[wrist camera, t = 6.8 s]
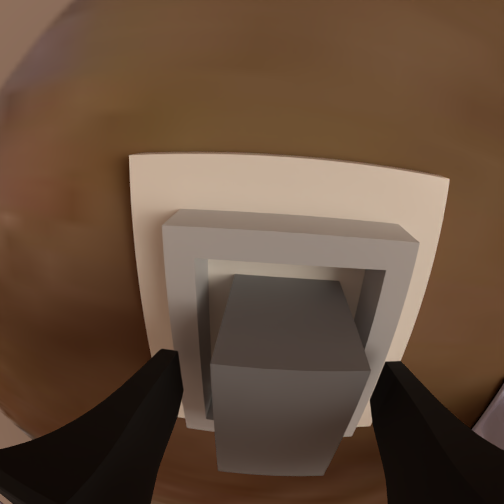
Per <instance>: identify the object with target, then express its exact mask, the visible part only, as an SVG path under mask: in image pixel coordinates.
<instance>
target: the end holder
mask: <svg viewBox="0 0 504 504" xmlns="http://www.w3.org/2000/svg"><path fill="white" fill-rule="evenodd" d="M129 168H130V192H131V209H132V222H133V234H134V245H135V254H136V263H137V272H138V279H139V287H140V294H141V301H142V307H143V314H144V320H145V325H146V331H147V337H148V342H149V347H150V352H151V357H153V356H154V355H155V354H156V353H157V352H158V351H159V350H160V349H168V350H175V351H178V354H179V361H180V368H181V375H182V382H183V388H184V392H183V396H182V401H181V405H180V409H179V413H178V417H181V418H185V420H186V425H187V428H192V429H199V430H206V431H213V432H215V430H214V417H213V402H212V386H211V369H210V363H211V359H212V355H213V352H214V348H215V344H216V341H217V337H218V333H219V330H220V326H221V322H222V319H223V315H224V311H225V308H226V304H227V300H228V297H229V293H230V290H231V286H232V282H233V279H234V275H235V274H244V275H257V276H272V277H286V278H302V279H318V280H334V281H339V282H340V284H341V287H342V289H343V292H344V295H345V297H346V300H347V303H348V305H349V308H350V311H351V314H352V316H353V319H354V322H355V325H356V328H357V330H358V333H359V336H360V339H361V342H362V345H363V348H364V351H365V354H366V357H367V360H368V363H369V366H370V369H371V373H370V375H369V378H368V380H367V383H366V385H365V388H364V390H363V393H362V395H361V398H360V400H359V402H358V405H357V407H356V409H355V412H354V414H353V416H352V418H351V421H350V423H349V425H348V427H347V429H346V431H345V434H344V436H343V437H348V436H352V435H353V433H354V431H355V429H356V427H365V426H370V425H371V423H372V416H371V407H370V397H371V395H372V393H373V390H374V388H375V386H376V383H377V381H378V378H379V376H380V373H381V371H382V368H383V366H384V363H385V362H387V361H401V358H402V356H403V353H404V351H405V348H406V346H407V343H408V340H409V338H410V335H411V332H412V329H413V327H414V324H415V321H416V318H417V315H418V312H419V309H420V306H421V303H422V300H423V296H424V293H425V290H426V286H427V283H428V279H429V276H430V272H431V269H432V265H433V261H434V257H435V253H436V249H437V244H438V240H439V236H440V231H441V226H442V221H443V216H444V211H445V205H446V200H447V193H448V187H449V180H450V179H448V178H445V177H442V176H440V175H436V174H431V173H425V172H420V171H414V170H409V169H403V168H396V167H390V166H383V165H376V164H369V163H362V162H354V161H345V160H336V159H327V158H317V157H305V156H293V155H279V154H261V153H237V152H152V153H137V154H133V155H129Z"/></svg>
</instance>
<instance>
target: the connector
mask: <svg viewBox="0 0 504 504" xmlns="http://www.w3.org/2000/svg"><path fill="white" fill-rule="evenodd" d="M210 369H211V386H212V402H213V417H214V430H215V443H216V454H217V465H218V471H224V472H233V473H243V474H256V475H274V476H323V475H324V473H325V471H326V469H327V467H328V465H329V463H330V462H331V460H332V458H333V456H334V454H335V452H336V450H337V448H338V446H339V444H340V442H341V440H342V438H343V436H344V434H345V431H346V429H347V427H348V425H349V423H350V421H351V418H352V416H353V414H354V412H355V409H356V407H357V405H358V402H359V400H360V398H361V395H362V393H363V390H364V388H365V385H366V383H367V380H368V378H369V375H370V373H371V369H370V366H369V363H368V360H367V357H366V354H365V351H364V348H363V345H362V342H361V339H360V336H359V333H358V330H357V328H356V325H355V322H354V319H353V316H352V314H351V311H350V308H349V305H348V303H347V300H346V297H345V295H344V292H343V289H342V287H341V284H340V282H339V281H334V280H318V279H302V278H286V277H272V276H257V275H244V274H235V275H234V279H233V282H232V286H231V290H230V293H229V297H228V300H227V304H226V308H225V311H224V315H223V319H222V322H221V326H220V330H219V333H218V337H217V341H216V344H215V348H214V352H213V355H212V359H211V363H210Z"/></svg>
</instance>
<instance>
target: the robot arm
mask: <svg viewBox="0 0 504 504" xmlns="http://www.w3.org/2000/svg"><path fill="white" fill-rule="evenodd" d="M183 392H184V388H183V382H182V375H181V368H180V361H179V354H178V351H175V350H168V349H160V350H159V351H158V352H157V353H156V354H155V355H154V356H153V357H152V358H151V359H150V360H149V361H148V362H147V363H146V364H145V365H144V366H143V367H142V368H141V369H139V370H138V371H137V372H136V373H135V374H134V375H133V376H132V377H131V378H130V379H129V380H128V381H126V382H125V383H124V384H123V385H122V386H121V387H120V388H119V389H117V390H116V391H115V392H114V393H112V394H111V395H110V396H109V397H108V398H106V399H105V400H104V401H103V402H101V403H100V404H98V405H97V406H96V407H94V408H93V409H91V410H90V411H88V412H87V413H85V414H84V415H82V416H81V417H79V418H78V419H76V420H74V421H72V422H71V423H69V424H67V425H65V426H63V427H61V428H59V429H57V430H55V431H53V432H51V433H49V434H46V435H44V436H42V437H39V438H37V439H34V440H31V441H28V442H25V443H22V444H19V445H15V446H12V447H8V448H4V449H0V494H2V495H3V496H4V497H5V498H7V499H8V500H9V501H10V502H12V503H13V504H151V499H152V494H153V490H154V485H155V481H156V476H157V472H158V469H159V466H160V463H161V460H162V457H163V454H164V452H165V449H166V446H167V444H168V441H169V438H170V436H171V433H172V430H173V428H174V425H175V422H176V419H177V417H178V413H179V409H180V405H181V401H182V396H183ZM370 407H371V416H372V423H373V427H374V431H375V435H376V439H377V443H378V447H379V451H380V455H381V459H382V464H383V468H384V472H385V478H386V486H387V498H388V504H504V384H503V385H502V387H501V388H500V390H499V392H498V393H497V395H496V396H495V398H494V399H493V401H492V402H491V404H490V405H489V407H488V408H487V409H486V411H485V412H484V414H483V415H482V416H481V418H480V419H479V420H478V422H477V423H476V424H475V426H474V427H473V428H472V430H471V429H470V428H469V427H467V426H466V425H465V424H464V423H462V422H461V421H460V420H459V419H458V418H456V417H455V416H454V415H453V414H452V413H451V412H450V411H449V410H448V409H447V408H446V407H445V406H443V405H442V404H441V403H440V402H439V401H438V400H437V399H436V398H435V397H434V396H433V395H432V394H431V393H430V391H429V390H428V389H427V388H426V387H425V386H424V385H423V384H422V383H421V382H420V381H419V380H418V379H417V378H416V377H415V376H414V375H413V373H412V372H411V371H410V370H409V369H408V368H407V367H406V366H405V365H404V364H403V363H402V362H401V361H387V362H385V363H384V366H383V368H382V371H381V373H380V376H379V378H378V381H377V383H376V386H375V388H374V390H373V393H372V395H371V397H370ZM0 504H3V503H2V502H1V501H0Z"/></svg>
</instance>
